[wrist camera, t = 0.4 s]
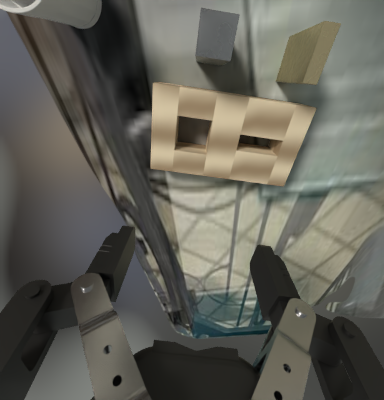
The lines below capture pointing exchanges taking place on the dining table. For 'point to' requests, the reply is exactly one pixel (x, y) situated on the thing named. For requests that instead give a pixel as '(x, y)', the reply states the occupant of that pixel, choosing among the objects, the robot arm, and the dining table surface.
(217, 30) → the square bit
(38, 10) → the cup
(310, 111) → the socket block
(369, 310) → the dining table surface
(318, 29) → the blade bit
